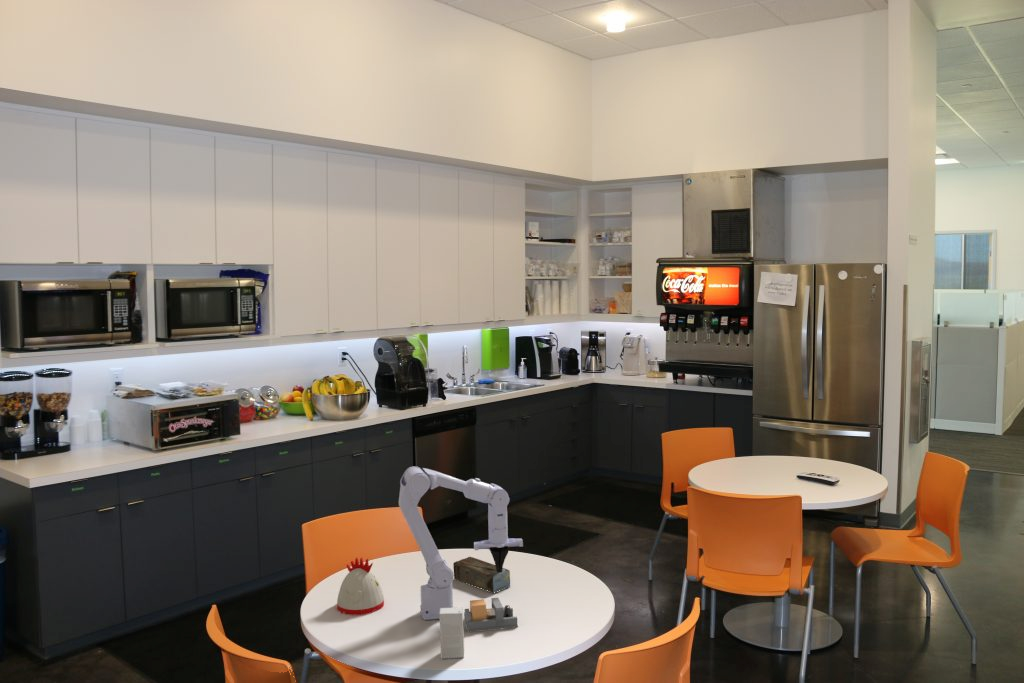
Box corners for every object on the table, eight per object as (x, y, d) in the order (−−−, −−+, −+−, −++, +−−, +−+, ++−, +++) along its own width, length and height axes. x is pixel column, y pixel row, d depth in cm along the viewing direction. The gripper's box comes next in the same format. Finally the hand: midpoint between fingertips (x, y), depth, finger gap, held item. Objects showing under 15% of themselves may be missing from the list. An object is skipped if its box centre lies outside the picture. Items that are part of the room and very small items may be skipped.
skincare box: (464, 650, 222) (463, 606, 222) (464, 658, 218) (462, 613, 217) (441, 651, 222) (439, 607, 221) (440, 659, 218) (439, 614, 217)
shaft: (486, 622, 237) (486, 610, 237) (484, 617, 241) (484, 605, 240) (510, 620, 238) (510, 608, 238) (508, 615, 242) (508, 603, 242)
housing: (468, 632, 234) (467, 611, 234) (464, 620, 242) (463, 600, 241) (517, 627, 237) (517, 606, 236) (512, 616, 245) (511, 595, 244)
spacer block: (472, 626, 236) (471, 605, 236) (470, 621, 240) (469, 600, 240) (486, 625, 237) (486, 604, 237) (484, 619, 241) (483, 599, 240)
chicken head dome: (373, 616, 247) (372, 566, 246) (330, 613, 250) (328, 564, 248) (390, 598, 260) (388, 551, 259) (348, 596, 263) (346, 549, 262)
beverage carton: (493, 595, 262) (492, 574, 261) (452, 580, 275) (451, 560, 275) (511, 587, 268) (510, 567, 267) (470, 574, 281) (469, 554, 281)
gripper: (475, 532, 246) (477, 578, 247) (524, 528, 249) (525, 573, 250) (472, 525, 253) (473, 570, 254) (519, 522, 256) (520, 565, 257)
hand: (499, 571), depth 252 cm, fingers closed
